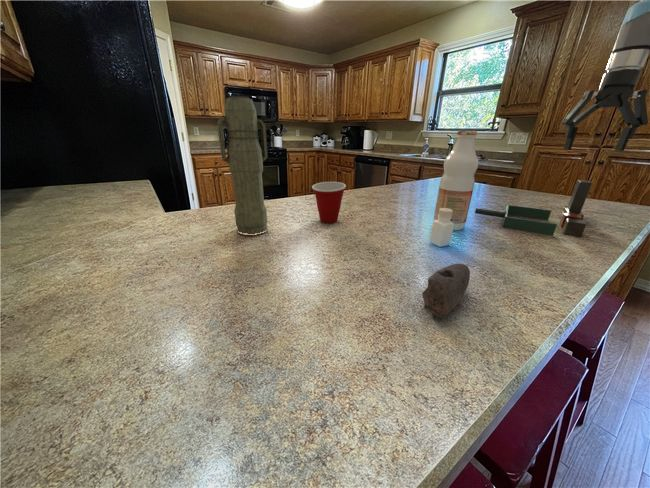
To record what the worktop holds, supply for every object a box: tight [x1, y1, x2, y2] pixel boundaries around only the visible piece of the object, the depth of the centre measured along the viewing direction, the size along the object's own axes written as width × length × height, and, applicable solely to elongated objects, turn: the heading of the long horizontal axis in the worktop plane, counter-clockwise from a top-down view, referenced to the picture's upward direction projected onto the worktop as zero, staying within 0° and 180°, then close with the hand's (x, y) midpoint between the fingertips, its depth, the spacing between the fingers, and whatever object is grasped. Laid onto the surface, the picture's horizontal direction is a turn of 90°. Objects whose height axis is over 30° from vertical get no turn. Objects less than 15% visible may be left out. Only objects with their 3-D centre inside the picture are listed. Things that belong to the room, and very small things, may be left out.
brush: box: [561, 179, 593, 220], centre depth 92 cm, size 4×12×13 cm, turn 146°
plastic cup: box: [311, 181, 347, 224], centre depth 86 cm, size 11×11×12 cm
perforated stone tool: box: [421, 263, 471, 319], centre depth 46 cm, size 15×5×7 cm, turn 135°
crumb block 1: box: [558, 213, 582, 229], centre depth 85 cm, size 4×4×4 cm
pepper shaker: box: [429, 208, 454, 248], centre depth 70 cm, size 4×4×10 cm
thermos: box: [216, 95, 269, 237], centre depth 72 cm, size 9×12×35 cm
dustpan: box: [474, 204, 558, 236], centre depth 90 cm, size 22×18×4 cm
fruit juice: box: [432, 130, 479, 231], centre depth 80 cm, size 9×9×28 cm
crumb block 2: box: [561, 218, 587, 238], centre depth 79 cm, size 4×4×4 cm
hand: (592, 150), depth 84 cm, fingers open, 13 cm apart
